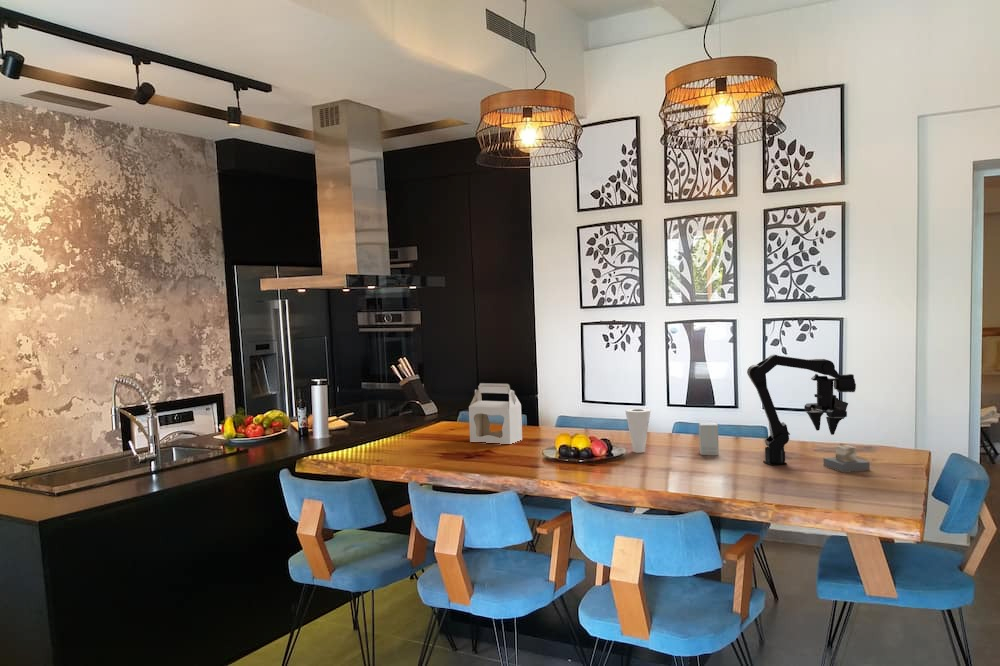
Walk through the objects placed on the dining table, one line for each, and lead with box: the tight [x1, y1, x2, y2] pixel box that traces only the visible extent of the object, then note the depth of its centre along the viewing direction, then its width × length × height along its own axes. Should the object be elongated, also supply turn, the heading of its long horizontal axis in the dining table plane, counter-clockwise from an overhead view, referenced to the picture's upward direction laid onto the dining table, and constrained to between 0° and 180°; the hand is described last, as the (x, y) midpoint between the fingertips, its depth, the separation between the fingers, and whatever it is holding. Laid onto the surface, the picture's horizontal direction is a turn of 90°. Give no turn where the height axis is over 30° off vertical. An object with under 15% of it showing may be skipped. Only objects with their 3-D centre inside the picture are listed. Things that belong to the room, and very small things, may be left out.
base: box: [823, 456, 871, 473], centre depth 263 cm, size 11×11×3 cm
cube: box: [835, 444, 858, 462], centre depth 263 cm, size 5×5×5 cm
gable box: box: [468, 382, 523, 445], centre depth 338 cm, size 22×13×28 cm, turn 63°
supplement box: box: [698, 422, 720, 456], centre depth 296 cm, size 7×7×13 cm
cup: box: [625, 407, 651, 454], centre depth 304 cm, size 11×11×18 cm
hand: (825, 432), depth 270 cm, fingers open, 9 cm apart
